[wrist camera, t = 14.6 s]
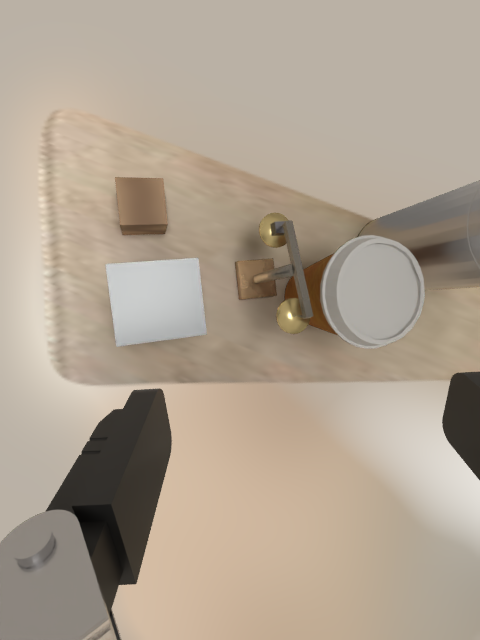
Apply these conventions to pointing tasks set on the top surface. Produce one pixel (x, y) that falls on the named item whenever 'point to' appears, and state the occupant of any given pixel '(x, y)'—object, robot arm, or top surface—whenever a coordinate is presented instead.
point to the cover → (156, 300)
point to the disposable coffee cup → (365, 291)
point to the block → (141, 205)
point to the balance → (277, 275)
